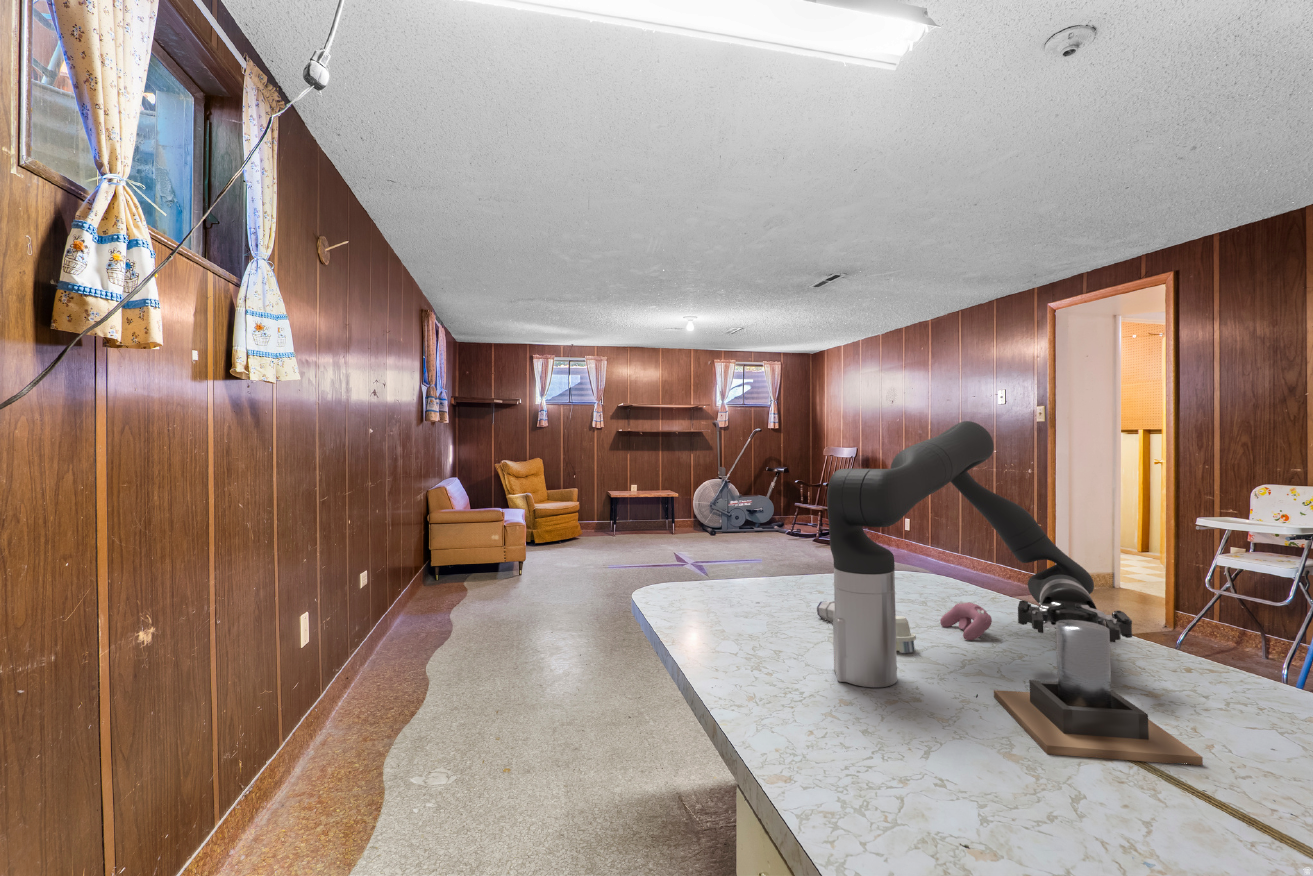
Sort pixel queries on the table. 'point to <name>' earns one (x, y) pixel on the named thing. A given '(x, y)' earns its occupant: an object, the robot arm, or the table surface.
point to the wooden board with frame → (1092, 727)
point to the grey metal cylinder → (1083, 664)
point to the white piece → (902, 627)
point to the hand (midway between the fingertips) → (1075, 630)
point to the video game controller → (968, 619)
